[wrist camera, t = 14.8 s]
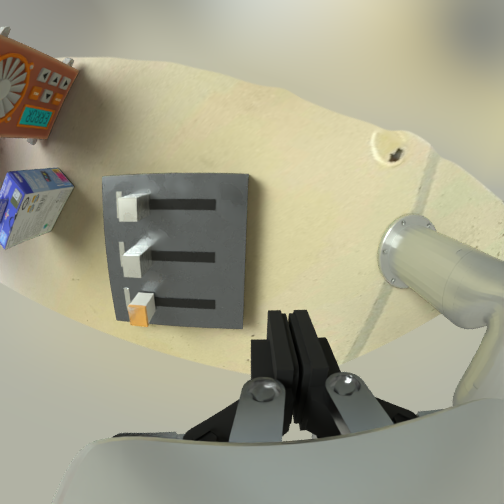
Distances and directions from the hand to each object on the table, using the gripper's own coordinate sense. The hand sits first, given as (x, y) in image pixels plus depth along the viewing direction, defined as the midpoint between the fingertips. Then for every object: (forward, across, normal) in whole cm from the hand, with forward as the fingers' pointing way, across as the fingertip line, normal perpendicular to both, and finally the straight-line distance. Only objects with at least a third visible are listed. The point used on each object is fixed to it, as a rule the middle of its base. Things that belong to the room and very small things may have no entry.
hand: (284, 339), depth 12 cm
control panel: (+27, +34, -22) cm, 49 cm away
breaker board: (+28, +12, +4) cm, 30 cm away
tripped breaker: (+24, +16, +11) cm, 31 cm away
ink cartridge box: (+27, +34, -5) cm, 44 cm away
